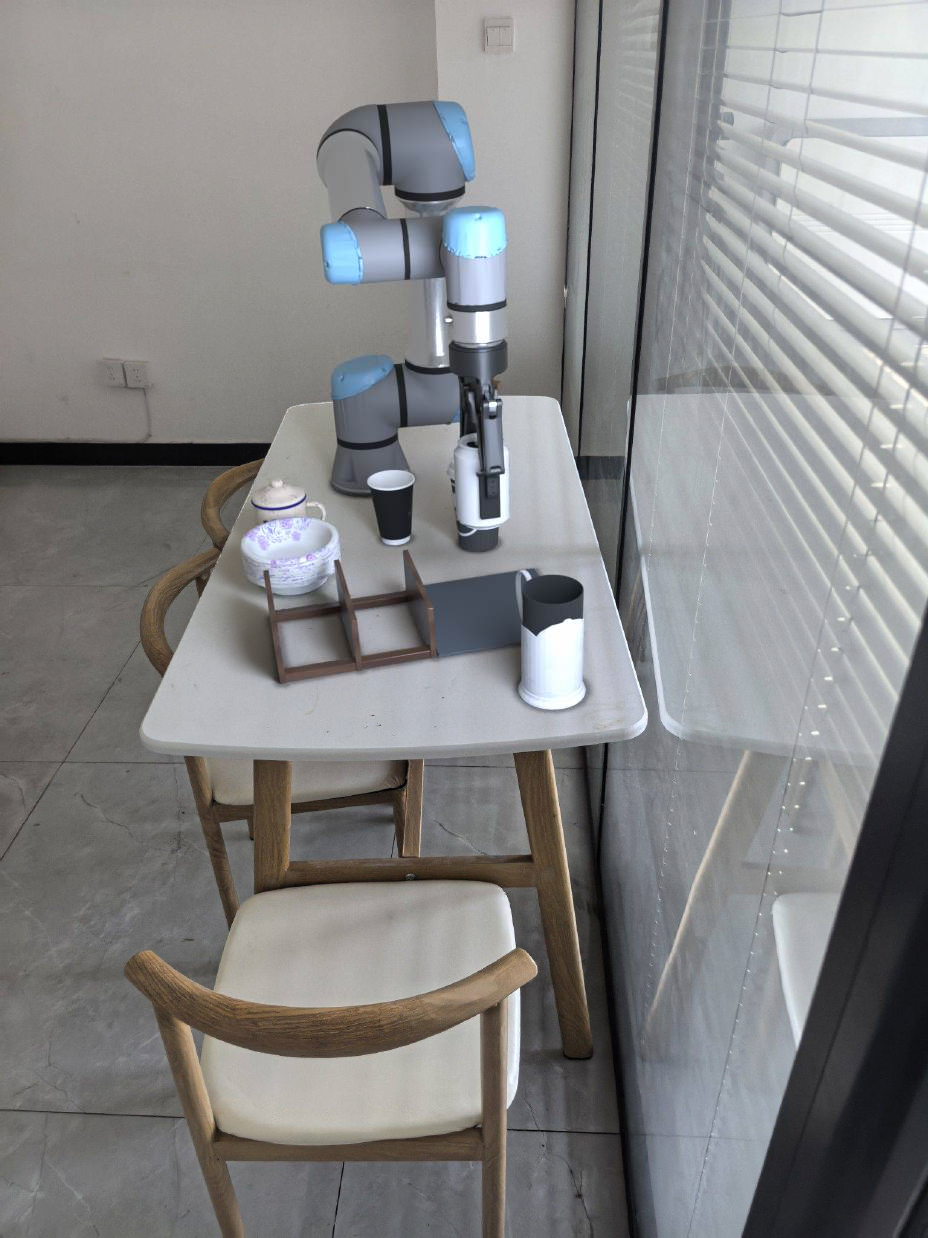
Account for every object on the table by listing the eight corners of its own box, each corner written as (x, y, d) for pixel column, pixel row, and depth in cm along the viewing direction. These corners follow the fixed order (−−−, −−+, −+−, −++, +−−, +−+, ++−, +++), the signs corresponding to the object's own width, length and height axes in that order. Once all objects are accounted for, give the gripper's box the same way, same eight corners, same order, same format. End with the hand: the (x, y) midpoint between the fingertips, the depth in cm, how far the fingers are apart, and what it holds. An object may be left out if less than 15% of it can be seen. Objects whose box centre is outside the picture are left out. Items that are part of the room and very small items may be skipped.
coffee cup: (501, 557, 157) (500, 472, 149) (444, 554, 159) (440, 469, 151) (511, 532, 165) (510, 449, 157) (456, 529, 167) (452, 447, 159)
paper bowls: (290, 616, 144) (283, 569, 140) (227, 586, 153) (219, 541, 148) (363, 576, 153) (359, 531, 149) (300, 550, 162) (294, 507, 158)
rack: (270, 617, 144) (262, 570, 140) (411, 595, 148) (407, 549, 144) (280, 684, 129) (272, 633, 125) (436, 657, 133) (433, 607, 129)
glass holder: (537, 716, 120) (537, 613, 113) (489, 660, 132) (486, 563, 124) (598, 698, 123) (602, 596, 116) (546, 644, 135) (547, 548, 127)
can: (448, 515, 137) (444, 435, 131) (496, 505, 139) (494, 425, 133) (469, 536, 131) (466, 452, 125) (519, 525, 133) (518, 442, 127)
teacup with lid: (256, 557, 161) (246, 493, 154) (260, 533, 168) (250, 471, 162) (329, 551, 161) (321, 487, 155) (329, 528, 169) (322, 466, 163)
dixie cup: (364, 537, 166) (358, 477, 160) (403, 524, 169) (399, 465, 164) (387, 553, 160) (382, 492, 154) (428, 540, 164) (424, 480, 158)
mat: (410, 589, 150) (410, 587, 149) (534, 570, 153) (534, 568, 153) (438, 657, 133) (438, 655, 133) (576, 634, 137) (576, 632, 136)
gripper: (432, 323, 130) (440, 481, 142) (468, 364, 113) (474, 540, 125) (486, 318, 131) (490, 475, 143) (529, 358, 114) (530, 532, 126)
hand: (482, 505), depth 134 cm, fingers closed on can, 7 cm apart
